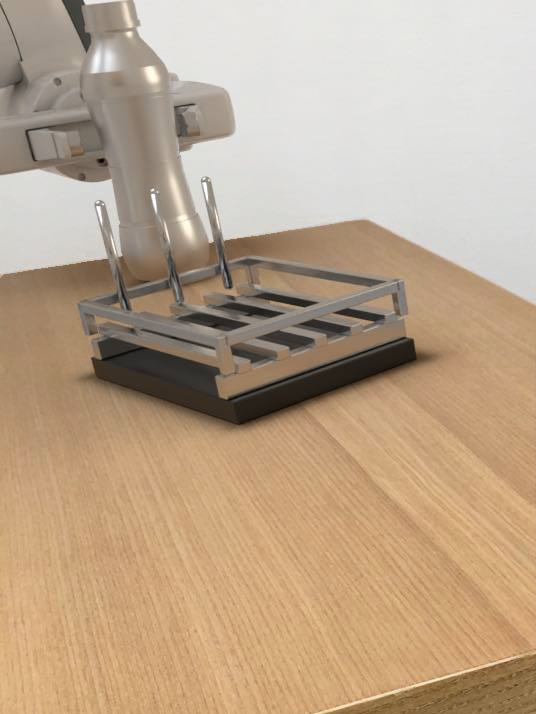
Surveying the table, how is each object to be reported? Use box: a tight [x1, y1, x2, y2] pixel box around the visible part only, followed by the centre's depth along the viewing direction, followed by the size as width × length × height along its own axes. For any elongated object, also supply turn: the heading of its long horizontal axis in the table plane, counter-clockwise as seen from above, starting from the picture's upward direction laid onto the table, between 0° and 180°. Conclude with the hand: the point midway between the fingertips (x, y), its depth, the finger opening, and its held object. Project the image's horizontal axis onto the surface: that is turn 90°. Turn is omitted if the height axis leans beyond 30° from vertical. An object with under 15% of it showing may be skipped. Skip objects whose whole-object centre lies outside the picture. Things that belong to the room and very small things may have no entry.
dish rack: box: [76, 176, 417, 425], centre depth 70 cm, size 16×12×10 cm
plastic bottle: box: [79, 0, 211, 282], centre depth 92 cm, size 6×7×20 cm
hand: (135, 134), depth 92 cm, fingers open, 8 cm apart
